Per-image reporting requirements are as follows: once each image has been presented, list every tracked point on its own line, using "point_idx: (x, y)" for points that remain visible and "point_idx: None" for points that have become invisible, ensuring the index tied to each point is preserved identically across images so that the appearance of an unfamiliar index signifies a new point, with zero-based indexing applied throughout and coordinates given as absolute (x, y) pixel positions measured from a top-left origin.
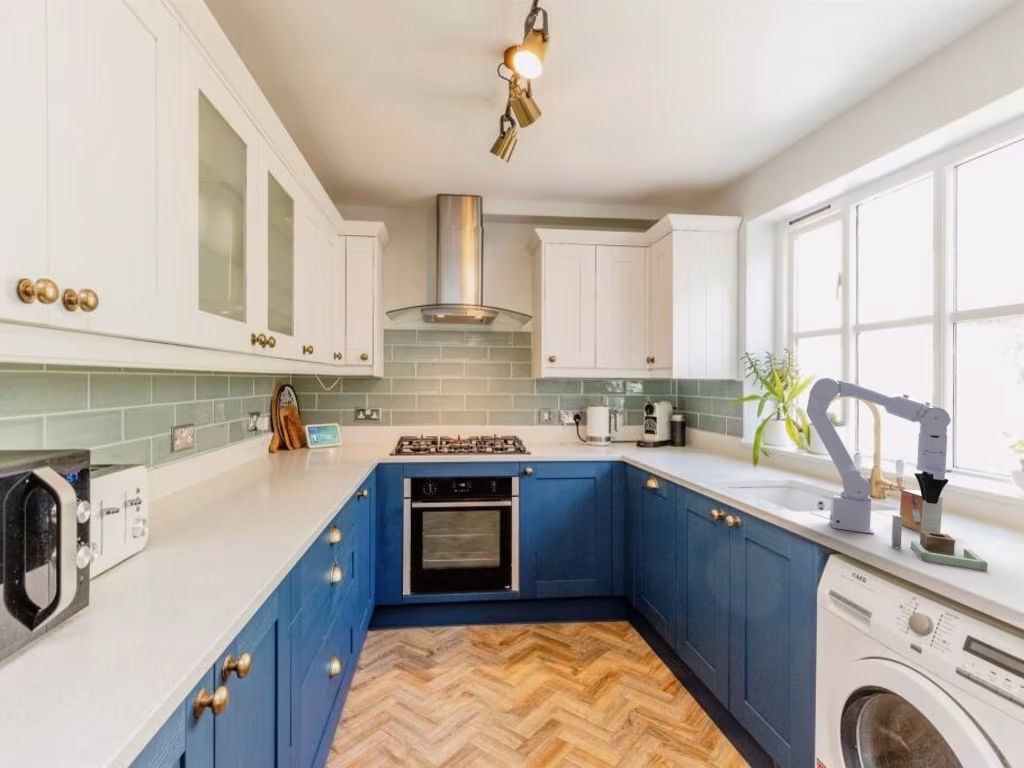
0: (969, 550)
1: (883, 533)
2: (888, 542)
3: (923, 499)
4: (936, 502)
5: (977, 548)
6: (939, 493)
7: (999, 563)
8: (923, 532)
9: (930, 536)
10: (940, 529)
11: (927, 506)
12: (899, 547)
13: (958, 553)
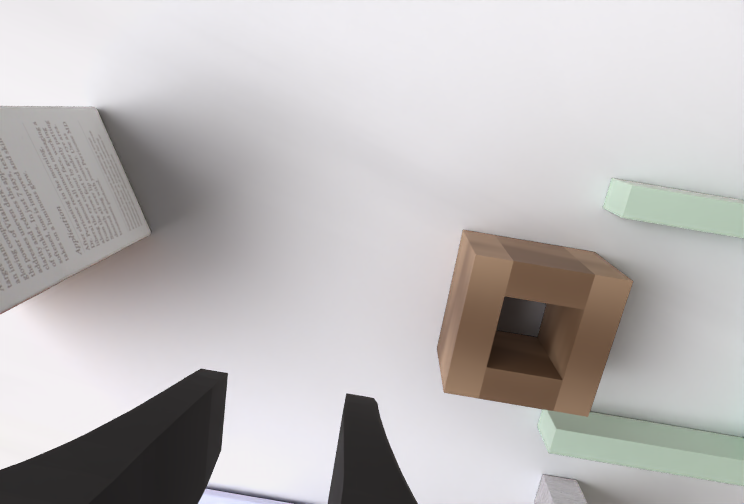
0: (663, 206)
1: (295, 454)
2: (479, 494)
3: (215, 454)
4: (379, 414)
5: (387, 23)
6: (403, 490)
7: (699, 58)
8: (490, 395)
9: (583, 395)
10: (80, 107)
11: (6, 255)
12: (575, 487)
13: (560, 214)
